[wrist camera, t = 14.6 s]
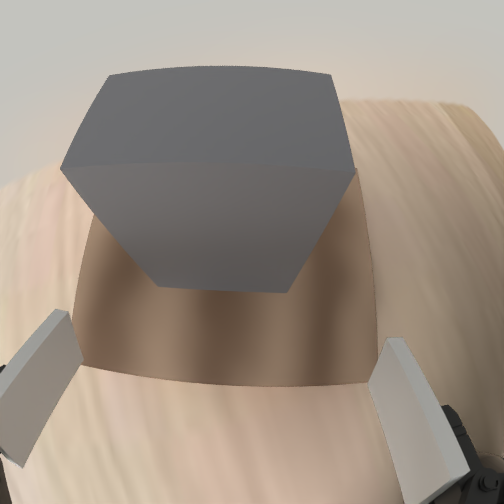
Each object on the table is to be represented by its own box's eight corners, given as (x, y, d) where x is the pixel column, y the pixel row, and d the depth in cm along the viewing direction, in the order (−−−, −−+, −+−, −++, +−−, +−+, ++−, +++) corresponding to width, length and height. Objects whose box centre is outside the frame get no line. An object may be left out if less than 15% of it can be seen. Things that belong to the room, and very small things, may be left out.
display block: (342, 194, 26) (356, 168, 22) (354, 379, 20) (377, 381, 16) (125, 186, 25) (111, 159, 22) (93, 364, 19) (67, 361, 16)
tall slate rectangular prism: (285, 222, 20) (329, 69, 9) (286, 293, 18) (355, 172, 7) (168, 218, 20) (112, 70, 9) (158, 286, 18) (59, 168, 7)
